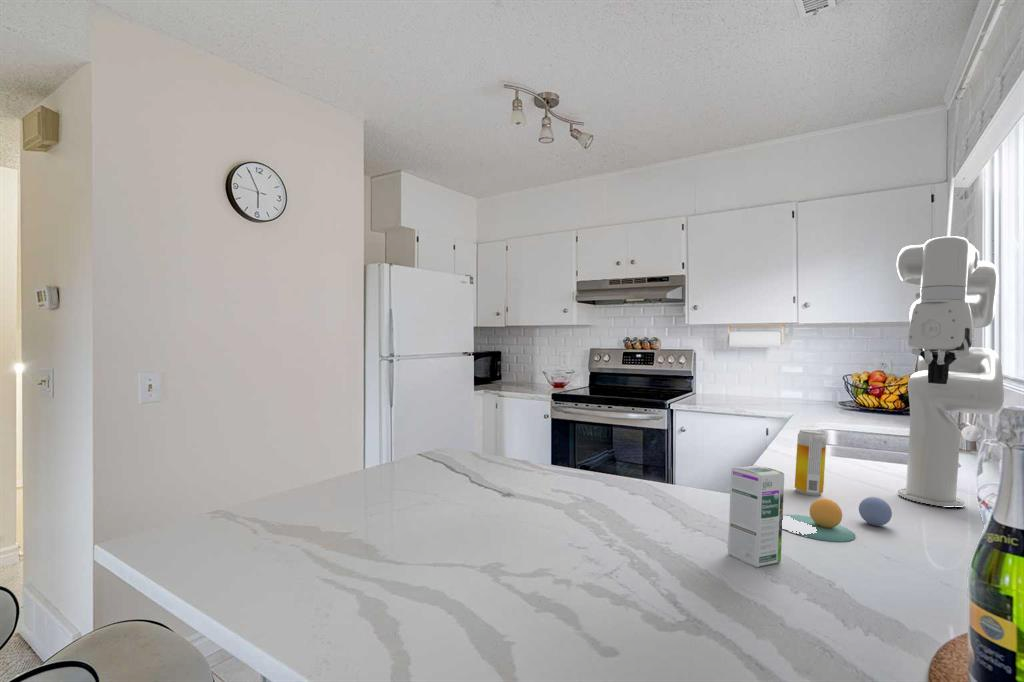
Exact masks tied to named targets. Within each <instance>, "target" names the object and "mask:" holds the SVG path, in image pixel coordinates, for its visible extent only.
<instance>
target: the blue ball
mask: <svg viewBox="0 0 1024 682" xmlns="http://www.w3.org/2000/svg"><path fill="white" fill-rule="evenodd" d="M858 512H859V514H860V517H861V518H862V520H863V521H864V522H866V523H867V524H869V525H872V526H881V527H882V526H884V525H886V524H888V523H889V522H890V521H891V519H892V516H893V512H892V508H891V507H890V505H889V504H888V503H887V502H886V501H885V500H883V499H882V498H880V497H876V496H870V497H866V498H864V499H863V500H861V502H860V503H859V505H858Z"/></svg>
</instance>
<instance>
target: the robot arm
mask: <svg viewBox="0 0 1024 682" xmlns="http://www.w3.org/2000/svg"><path fill="white" fill-rule="evenodd" d="M896 269H897V270H896V271H897V273H898V277H899V279H900V280H901V281H902V282H903V283H905V284H909V285H915V286H916V285H917V286H920V290H919V292H917V293H915V298H916V301H914V302H913V303H912V305H911V306H910V309H909V329H908V337H907V345H908V347H910V348H911V354H912V355H916V356H917V370H918V371H915V372H914V373H913V374H911V375H910V377H909V378H908V381H907V392H908V402H909V403H908V404H909V436H908V449H907V450H908V452H907V453H908V455H907V469H906V470H907V472H906V485H905V487H906V488H905V487H904V488H899V489H898V490H897V495H898V494H899V495H900V496H899V495H898V496H899V497H901V496H902V497H901V498H903V497H904V498H903V499H905V498H907V499H906V500H908V499H910V500H909V501H911V500H914V501H918V502H921V503H920V504H922V503H926V504H931V505H930V506H932V505H938V506H954V507H955V506H963V505H964V504H965V501H964V500H963V499H961V498H959V497H957V491H958V489H957V488H958V476H959V475H958V473H959V457H960V443H961V441H960V440H961V432H960V428H959V426H958V425H957V424H956V422H955V421H954V420H953V419H952V418H951V417H950V416H949V415H948V413H949V412H952V413H953V412H954V413H965V414H975V415H994V414H997V413H998V412H999V411H1000V410H1001V409H1002V407H1003V404H1004V401H1005V390H1004V389H1005V387H1004V380H1003V379H1004V378H1003V368H1002V362H1001V357H1000V356H999V354H998V353H997V352H996V351H995V350H993V349H991V348H987V347H986V348H985V347H972V344H973V329H980V328H986V327H988V326H989V325H991V324H992V322H993V321H994V318H995V313H996V302H997V296H998V286H999V273H998V269H997V267H996V266H995V265H994V264H993V263H992V262H990V261H988V260H987V261H986V260H980V251H979V250H978V249H976V247H975V246H974V245H973V244H971V243H969V240H968V239H967V238H965V237H963V236H962V237H961V236H941V237H940V236H938V237H935V238H934V237H933V238H931V239H928V240H927V241H926V242H924V244H917V245H916V244H915V245H906V246H905V247H902V248H901V250H900V252H899V253H898V255H897V259H896ZM914 501H913V502H914ZM918 502H917V503H918ZM926 504H925V505H926ZM964 506H965V505H964Z"/></svg>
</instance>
